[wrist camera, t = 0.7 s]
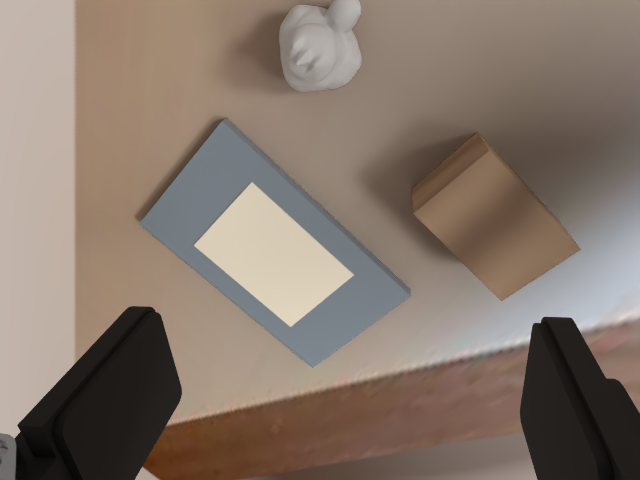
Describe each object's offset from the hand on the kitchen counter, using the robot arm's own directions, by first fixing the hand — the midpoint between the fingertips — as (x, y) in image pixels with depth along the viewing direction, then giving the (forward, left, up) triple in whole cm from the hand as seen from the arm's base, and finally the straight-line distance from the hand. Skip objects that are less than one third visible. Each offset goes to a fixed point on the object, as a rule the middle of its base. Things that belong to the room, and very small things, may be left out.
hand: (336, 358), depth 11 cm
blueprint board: (-1, +13, -24) cm, 27 cm away
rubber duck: (+7, -2, -24) cm, 25 cm away
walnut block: (-9, -2, -24) cm, 26 cm away
